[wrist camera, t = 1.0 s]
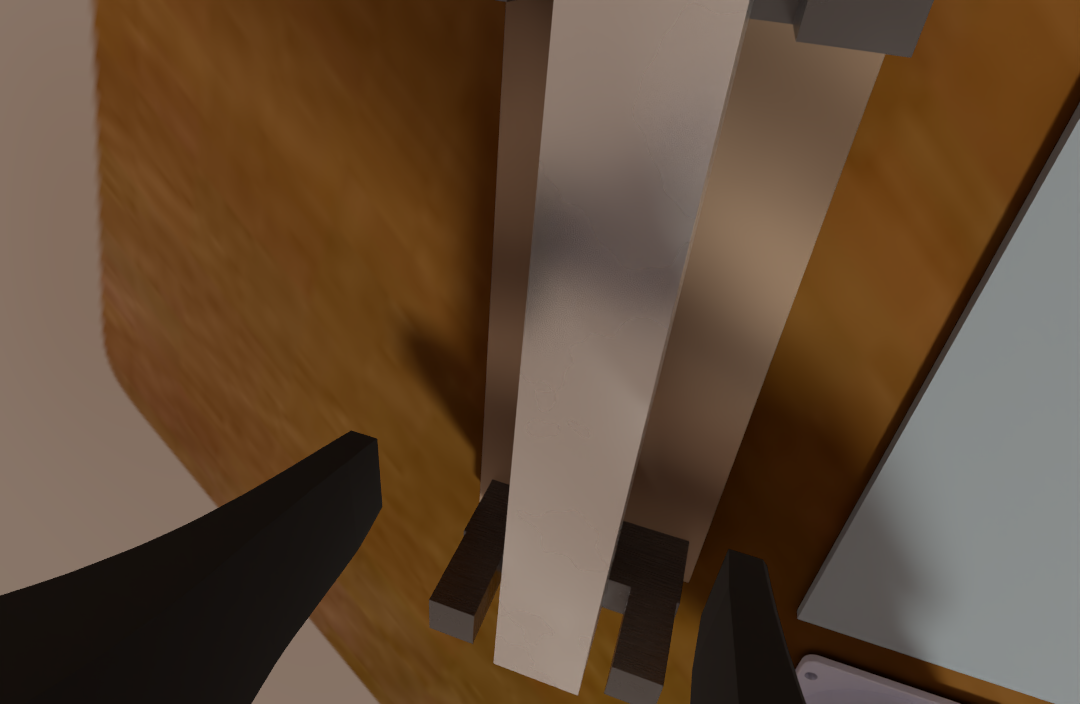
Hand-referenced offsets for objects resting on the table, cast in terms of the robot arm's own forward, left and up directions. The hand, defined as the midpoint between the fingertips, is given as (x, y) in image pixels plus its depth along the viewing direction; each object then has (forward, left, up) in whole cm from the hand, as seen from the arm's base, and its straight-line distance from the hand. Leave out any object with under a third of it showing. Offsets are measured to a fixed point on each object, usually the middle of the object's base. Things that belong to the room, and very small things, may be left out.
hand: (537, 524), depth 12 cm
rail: (0, 0, -6) cm, 6 cm away
